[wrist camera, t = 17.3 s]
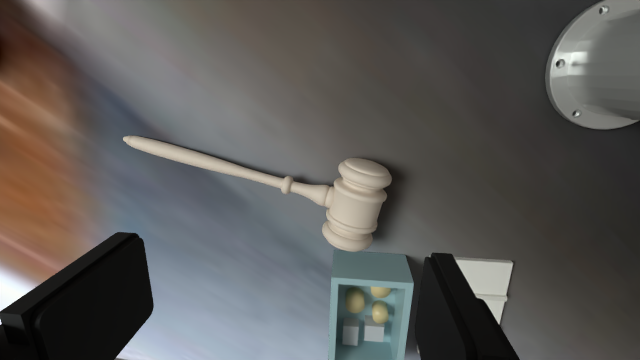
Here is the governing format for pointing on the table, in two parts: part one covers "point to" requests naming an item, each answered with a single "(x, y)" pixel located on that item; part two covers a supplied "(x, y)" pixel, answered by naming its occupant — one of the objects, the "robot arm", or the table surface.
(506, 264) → the lid
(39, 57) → the table surface
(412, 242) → the table surface
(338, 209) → the gavel
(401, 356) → the tub
